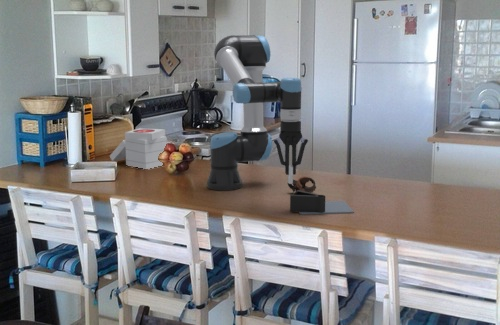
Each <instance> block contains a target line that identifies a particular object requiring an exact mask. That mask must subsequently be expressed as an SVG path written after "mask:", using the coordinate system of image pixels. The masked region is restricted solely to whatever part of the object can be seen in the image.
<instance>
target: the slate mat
mask: <svg viewBox="0 0 500 325" xmlns="http://www.w3.org/2000/svg"><path fill="white" fill-rule="evenodd" d="M298 213H299V215H322V214H323V215H328V214H329V215H330V214H332V215H334V214H355V211H354V210H353V209H352V208H351V206H349V204H348V203H347V202H346V201H345V200H328V201H327V200H325V212H323V213H319V212H298Z"/></svg>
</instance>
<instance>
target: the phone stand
mask: <svg viewBox="0 0 500 325" xmlns="http://www.w3.org/2000/svg"><path fill="white" fill-rule="evenodd" d="M289 197H290V198H289V212H297V213H299V212H319V213H323V212H325V201H326V195H324V194H317V193H314V192H312V193H310V192H305V191H301V190H298V191H296V190H295V191H294V192H293V193H292V194H290V196H289Z"/></svg>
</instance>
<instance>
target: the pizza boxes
mask: <svg viewBox="0 0 500 325" xmlns="http://www.w3.org/2000/svg"><path fill="white" fill-rule="evenodd" d="M166 144H167V145H168V138H167V136H166V129H165V128H164V129H163V128H161V129H160V128H140V127H139V128H135V129H132V130H129V131H125V132H124V139H123V140H122V141H120V143H119V144H117V146H116V148H115V149H114V150H113V151H112V152H111V153H110V155H109V158H110V160H111V161H112V162H114V161H120V160H125V165H128V166H133V167H138V168H143V169H142V170H144V169H148V170H151V169H150V168H152V169H155V168H154V167H157V168H159V167H158V166H162V165H163V163H162V162H160V161H159V160H158V156H159V154H160V153H162V152H163V151H164V148H165V146H166ZM133 167H132V168H133ZM162 167H163V166H162ZM138 168H137V169H138Z"/></svg>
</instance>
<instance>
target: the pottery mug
mask: <svg viewBox="0 0 500 325" xmlns="http://www.w3.org/2000/svg"><path fill="white" fill-rule="evenodd" d="M309 182H311V184H312V186H307V185H306V184H307V183H309ZM287 186H288V188H289V189H290V190H292V192H293V193H295V192H296V191H298V190H301V191H305V192H310V193H314V191H316V189H317V186H316V181H315V180H314V179H313V178H311V177H309V176H301V177H299V178H298V179H297V180H296V179H294V178H293V184H289V183H288V182H287Z"/></svg>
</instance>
